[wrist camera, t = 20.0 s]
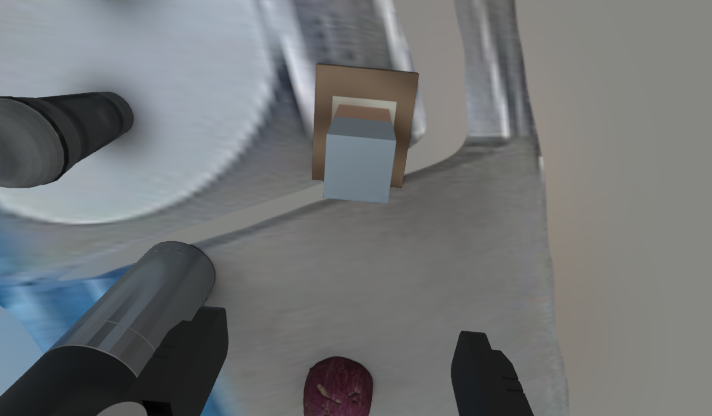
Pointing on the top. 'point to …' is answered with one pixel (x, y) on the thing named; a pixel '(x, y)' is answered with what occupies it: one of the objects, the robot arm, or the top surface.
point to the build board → (369, 92)
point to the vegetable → (338, 389)
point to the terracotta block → (363, 112)
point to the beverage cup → (55, 134)
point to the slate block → (359, 160)
